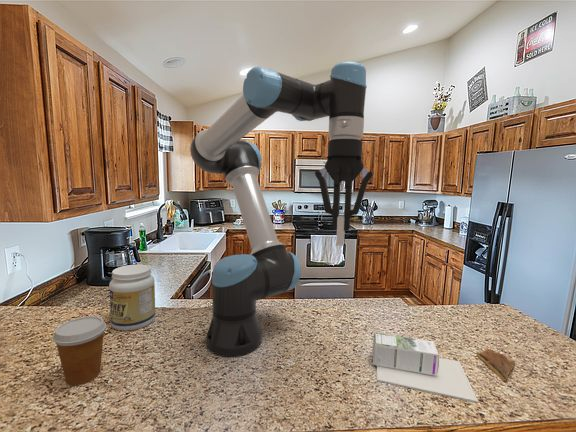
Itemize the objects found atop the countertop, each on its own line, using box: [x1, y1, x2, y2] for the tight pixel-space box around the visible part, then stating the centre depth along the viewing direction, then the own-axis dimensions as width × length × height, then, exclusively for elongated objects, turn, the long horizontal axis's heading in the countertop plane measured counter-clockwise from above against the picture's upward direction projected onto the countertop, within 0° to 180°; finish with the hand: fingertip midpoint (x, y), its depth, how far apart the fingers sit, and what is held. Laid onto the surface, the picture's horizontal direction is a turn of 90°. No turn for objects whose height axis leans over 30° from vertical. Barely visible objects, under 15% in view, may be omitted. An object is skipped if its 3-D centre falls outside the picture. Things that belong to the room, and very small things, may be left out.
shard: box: [476, 348, 516, 382], centre depth 72 cm, size 11×8×2 cm
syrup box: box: [372, 332, 440, 376], centre depth 70 cm, size 6×6×14 cm
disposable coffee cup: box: [52, 315, 107, 386], centre depth 63 cm, size 10×10×12 cm
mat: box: [376, 357, 479, 404], centre depth 69 cm, size 20×14×1 cm
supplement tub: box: [108, 264, 156, 332], centre depth 87 cm, size 12×12×17 cm
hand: (340, 244), depth 66 cm, fingers closed
